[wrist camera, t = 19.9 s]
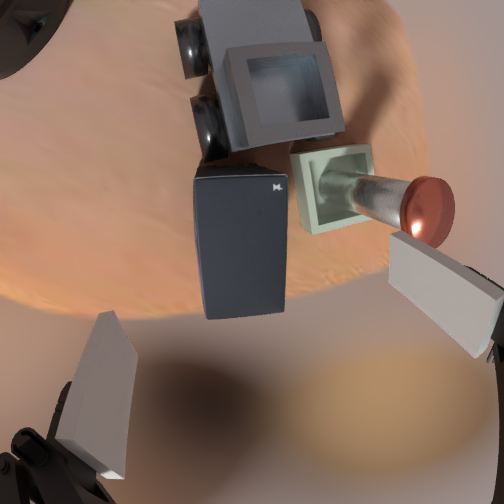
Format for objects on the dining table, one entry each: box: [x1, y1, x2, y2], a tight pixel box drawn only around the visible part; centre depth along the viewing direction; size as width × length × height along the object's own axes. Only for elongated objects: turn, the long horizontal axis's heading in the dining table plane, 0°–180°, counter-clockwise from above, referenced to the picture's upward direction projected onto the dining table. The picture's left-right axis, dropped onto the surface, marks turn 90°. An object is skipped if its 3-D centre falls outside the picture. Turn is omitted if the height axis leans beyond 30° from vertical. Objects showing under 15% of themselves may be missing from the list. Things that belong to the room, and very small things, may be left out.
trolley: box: [174, 0, 345, 163], centre depth 19 cm, size 14×12×11 cm
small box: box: [193, 164, 288, 320], centre depth 23 cm, size 11×6×10 cm, turn 1°
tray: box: [289, 144, 374, 235], centre depth 28 cm, size 8×8×3 cm
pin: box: [318, 170, 455, 248], centre depth 22 cm, size 5×5×14 cm
